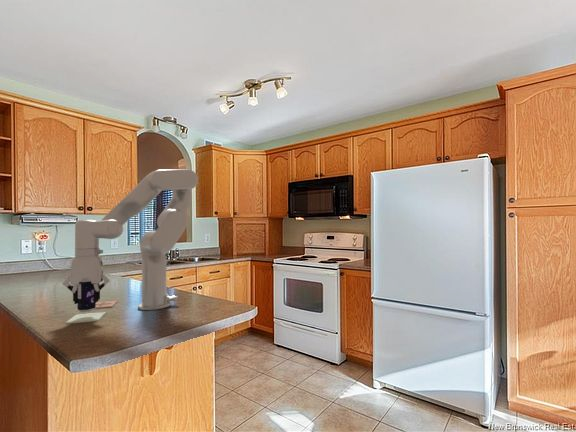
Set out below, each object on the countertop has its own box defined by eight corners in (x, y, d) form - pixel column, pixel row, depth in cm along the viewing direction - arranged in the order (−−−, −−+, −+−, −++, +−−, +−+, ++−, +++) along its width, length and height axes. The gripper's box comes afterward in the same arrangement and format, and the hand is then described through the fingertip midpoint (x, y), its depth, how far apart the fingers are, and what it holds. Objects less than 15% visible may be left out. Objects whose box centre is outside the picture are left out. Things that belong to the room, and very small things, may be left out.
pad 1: (105, 313, 125) (105, 311, 125) (98, 320, 116) (98, 318, 116) (76, 316, 122) (76, 314, 122) (66, 323, 113) (66, 321, 113)
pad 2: (117, 302, 144) (117, 300, 144) (112, 307, 135) (112, 305, 135) (92, 304, 142) (92, 302, 142) (84, 309, 132) (84, 307, 132)
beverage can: (87, 312, 116) (87, 279, 116) (73, 312, 117) (73, 278, 117) (99, 308, 121) (99, 276, 122) (86, 308, 122) (86, 276, 123)
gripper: (115, 251, 126) (114, 298, 125) (64, 253, 121) (63, 302, 120) (110, 253, 118) (110, 303, 118) (56, 255, 114) (55, 306, 113)
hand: (86, 302), depth 119 cm, fingers closed on beverage can, 5 cm apart
